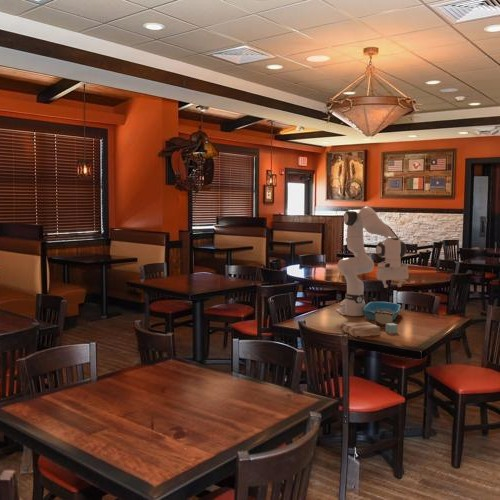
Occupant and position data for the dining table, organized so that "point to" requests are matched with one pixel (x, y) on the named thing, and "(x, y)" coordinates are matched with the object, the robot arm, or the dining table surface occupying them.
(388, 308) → the casserole dish
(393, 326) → the teal block
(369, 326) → the folded beige towel
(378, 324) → the food container
